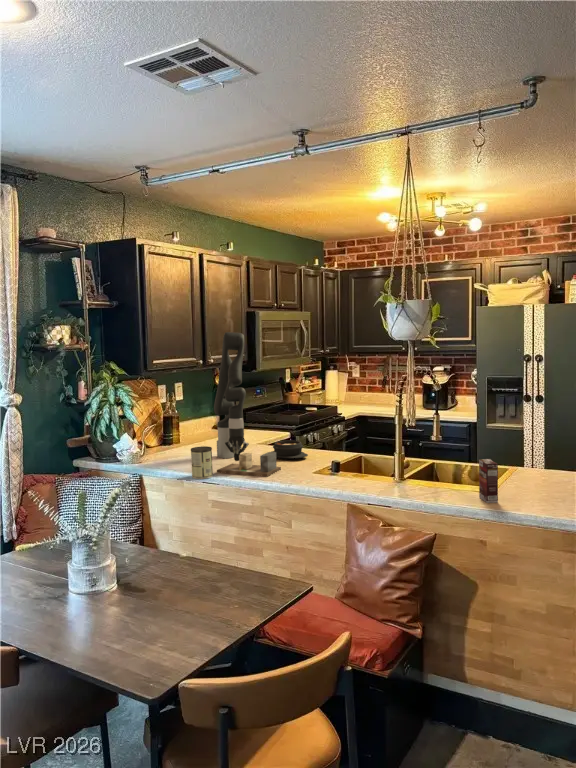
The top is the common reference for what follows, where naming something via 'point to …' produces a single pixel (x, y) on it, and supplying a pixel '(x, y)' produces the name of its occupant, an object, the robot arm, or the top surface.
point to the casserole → (288, 449)
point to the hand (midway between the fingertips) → (237, 460)
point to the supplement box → (488, 480)
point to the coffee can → (201, 462)
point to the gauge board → (255, 467)
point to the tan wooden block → (245, 461)
